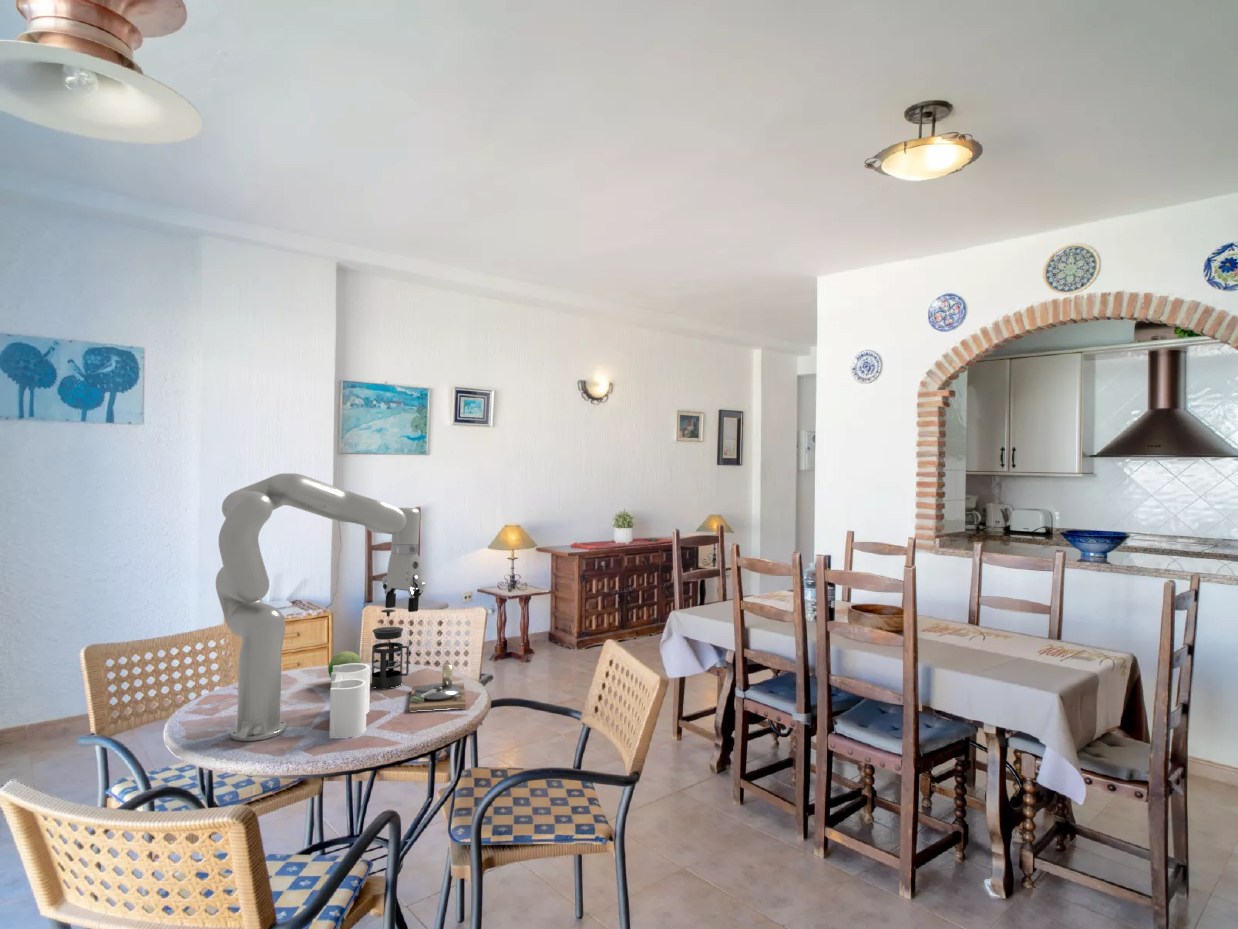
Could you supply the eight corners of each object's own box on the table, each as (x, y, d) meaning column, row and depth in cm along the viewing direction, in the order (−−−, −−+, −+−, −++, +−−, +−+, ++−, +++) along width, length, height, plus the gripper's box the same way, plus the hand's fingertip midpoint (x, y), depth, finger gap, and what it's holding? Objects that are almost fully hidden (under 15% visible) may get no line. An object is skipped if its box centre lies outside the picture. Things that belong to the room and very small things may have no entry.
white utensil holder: (368, 736, 173) (369, 687, 174) (325, 740, 170) (326, 690, 171) (369, 705, 197) (370, 661, 197) (332, 708, 194) (333, 664, 194)
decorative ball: (367, 680, 221) (367, 648, 221) (353, 689, 211) (354, 656, 211) (336, 679, 221) (337, 647, 222) (321, 688, 211) (322, 655, 212)
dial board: (465, 709, 195) (465, 700, 195) (409, 712, 191) (409, 703, 191) (463, 688, 214) (464, 679, 214) (412, 690, 210) (412, 682, 210)
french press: (364, 689, 211) (365, 612, 212) (373, 680, 221) (375, 606, 221) (403, 689, 212) (405, 612, 212) (411, 680, 221) (413, 607, 222)
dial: (442, 703, 193) (442, 678, 193) (402, 698, 198) (403, 673, 198) (469, 689, 206) (470, 665, 207) (432, 684, 211) (432, 661, 211)
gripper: (435, 551, 203) (432, 611, 202) (395, 547, 212) (392, 604, 212) (415, 553, 197) (411, 614, 196) (374, 548, 206) (371, 607, 205)
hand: (401, 609), depth 204 cm, fingers open, 9 cm apart
